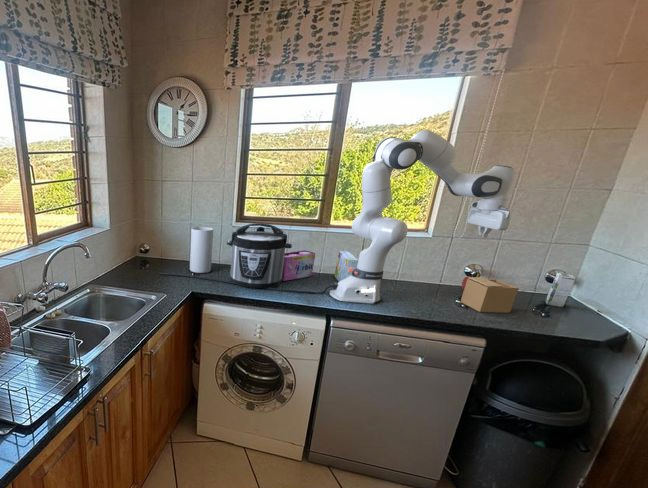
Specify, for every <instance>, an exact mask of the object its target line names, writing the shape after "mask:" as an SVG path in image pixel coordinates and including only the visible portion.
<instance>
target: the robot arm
mask: <svg viewBox="0 0 648 488" xmlns="http://www.w3.org/2000/svg"><path fill="white" fill-rule="evenodd" d="M456 156H457V150H456V148H455V147H454V145H453V144H452V143H451V142H450V141H448V140H447V139H446V138H445V137H443V136H441V135H439V134H438V133H436V132H434V131H432V130H429V129H423V130H420V131H417V132H416V133H414V134H413V136H412V137H411V138H409V139H404V138H402V137H401V138H400V137H396V136H390V137H386V138H384V139H382V140H381V141H379V142H378V144H377V145H376V147H375V150H374V154H373V156H372V158H371V159H372V162H369V163H367V164H366V165H365V166H364V168H363V170H362V175H361V197H362V199H361V200H362V208H361V211H360V213H359V215H357V216H356V217H355V218H354V219H353V221H352V223H351V231H352V233H353V234H354V235H356V236H358V237H361V238H362V239H367V240H371V243H370V245H369V246H368V247H365V248H364V249H362V250H361V251H360V252H359V255H358V258H357V259H358V264H357V267H356V268H355V269H353V268H349V269H348V271H349V272H352V275H350V276H349V277H347V278H345V279H343V280H341V281H337V282H336V281H333V282H332V284H331V285H328V286H326V287H325V288H324V290H322V291H319V292H318V291H312V290H310V291H309V290H298V289H297V290H296V289H286V288H285V289H284V288H276V287H270V288H269V287H268V288H262V289H263V290H270V291H279V292H280V291H281V292H288V293H301V294H312V295H314V294H315V295H316V294H317V295H319V294H324V293H326V292H327V290H328V289H330V288H332V290H330V291H329V295H330V296H331V297H332V298H333V299H335V300H337V301H339V302H349V303H358V304H359V303H360V304H361V303H362V304H373V305H374V304H376V302H379V301H381V282H382V280H383V277H384V267H385V263H386V260H387V256H388V255H389V252H390V251H391V250H392V249H393V247H394V246H396V245H397V244H399V243H401V242H403V241H404V240H405V238H407V235H408V233H409V231H408V230H409V229H408V224H407V223H406V222H404V221H402V220H400V219H398V218H393V217H387V216H383V210H384V209H387V208H388V207H389V206H390V204H391V203H392V181H391V177H392V173H393V171H394V170H399V171H402V170H406V169H409V168H411V167H412V166H413V165H415V164H416V163H417V162H419V163H421V164H422V165H423V166H424V167H427V168H428V169H429V170H431V171H432V172H433V173H434V174H435V175H436V176H437V177H439V179H441V180H442V181H443V182H444V183H445V185H446V187H447V189H448V192H449V193H450V194H451V195H453V196H455V197H467V198H475V199H479V200H476V201H473V202H471V204H470V207H471V208H470V209H469V211H468V215H467V218H466V222H467V224H469V225H473V226H478V237H480V238H483V239H484V238H485V239H486V238H488V235H489V234H490V233H491V232H492V230H494V231H507V230H508V229H509V227H510V221H511V217H512V215H511V210H510V208H509V207H507V203H508V200H509V193H510V191H511V189H512V187H513V185H514V181H515V177H516V176H515V175H516V169H515V168H513V167H512V166H508V165H500V164H499V165H498V164H497V165H493V166H492V167H491V168H490V169H488V170H486V171H484V172H480V173H473V172H472V173H471V172H465V171H463V172H462V171H460V170H459V169H457V167H455V166H454V165H453V164H452V163H453V162H454V161H455V159H456ZM158 274H159V275H162V276H163V275H164V276H175V277H176V276H178V277H186V278H195V279H202V280H208V281H215V282H222V283H226V284H232V285H237V284H236V283H234V282H233V281H230V280H224V279H219V278H213V277H207V276H206V277H205V276H199V275H190V274H182V273H169V272H158Z"/></svg>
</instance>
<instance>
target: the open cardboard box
mask: <svg viewBox="0 0 648 488" xmlns="http://www.w3.org/2000/svg"><path fill="white" fill-rule="evenodd" d="M486 279H487V280H490V281H492V282H495V283H497V284H500V285H502V286H504V287H487V286H486V285H483V284H481V283H479V282H476V281H474V280H472V279H467V282H466V285H465V288H464V291H463V292H462V295H461V299H460V303H461V304H463V305H465V306H467V307H469V308H471V309H473V310H474V311H477V312H479V313H507V314H510V313H511V311H512V309H513V306H514V303H515V301H516V297H517V294H518V292H519V289H520V288H519V287H517V286H515V285H512V284H509V283H506V282H504V281H501V280H499V279H493V278H492V279H491V278H486Z"/></svg>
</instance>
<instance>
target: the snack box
mask: <svg viewBox="0 0 648 488" xmlns="http://www.w3.org/2000/svg"><path fill="white" fill-rule="evenodd" d="M358 259H359V258H357V257H356V256H355V255H354V254H352V253H351V252H350V251H344V250H339V251H338V255H337V260H336V265H335V270H334V275H333V276H334V278H335V279H336V281H337V282H339V281H341V280H343V279H345V278H347V277H349V276H350V275H352V272H349V271H348V269H349V268H353V269H355V268H356V267H357V264H358Z"/></svg>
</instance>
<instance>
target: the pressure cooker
mask: <svg viewBox="0 0 648 488" xmlns="http://www.w3.org/2000/svg"><path fill="white" fill-rule="evenodd" d="M257 226H258V227H257ZM250 227H257V228H256V230H254V231H251V230H250V231H249V230H248V229H249V228H250ZM265 227H266V228H270V229H271V231H272V232H271V231H265V230H266V228H265ZM247 230H248V231H247ZM226 245H227V246H230V247H231V259H230V260H231V261H230V279H231V282H234V283H236V284H235V285H238V286H241V287H245V288H252V289H263V288H268V287H269V288H275V287H277V286H278V285H279V284H280V283H281V282H282V280H281V279H282V271H283V263H284V255H285V253H286V249H292V248H293V245H292V244H291V243H289V242H288V235H287V234H286V233H284V230H282V229H281V228H279V227H278V226H275V225H272V224H268V223H261V222H260V223H259V222H257V223H256V222H255V223H249V224H246V225H243V226H240V227H238V228H237V229H236V230H235V231H233V232H232V233H231V239H229V240H227V241H226Z"/></svg>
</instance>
